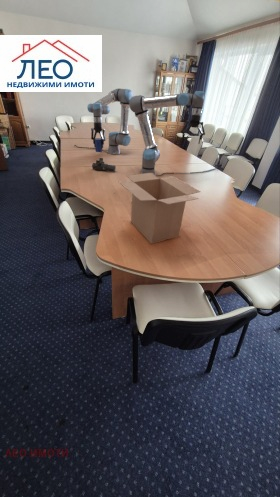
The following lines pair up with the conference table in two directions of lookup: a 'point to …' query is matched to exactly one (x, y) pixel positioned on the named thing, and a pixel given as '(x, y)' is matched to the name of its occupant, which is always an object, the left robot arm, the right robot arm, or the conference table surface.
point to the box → (158, 204)
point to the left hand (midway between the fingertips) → (98, 147)
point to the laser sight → (103, 166)
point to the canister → (98, 145)
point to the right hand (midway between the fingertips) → (190, 142)
